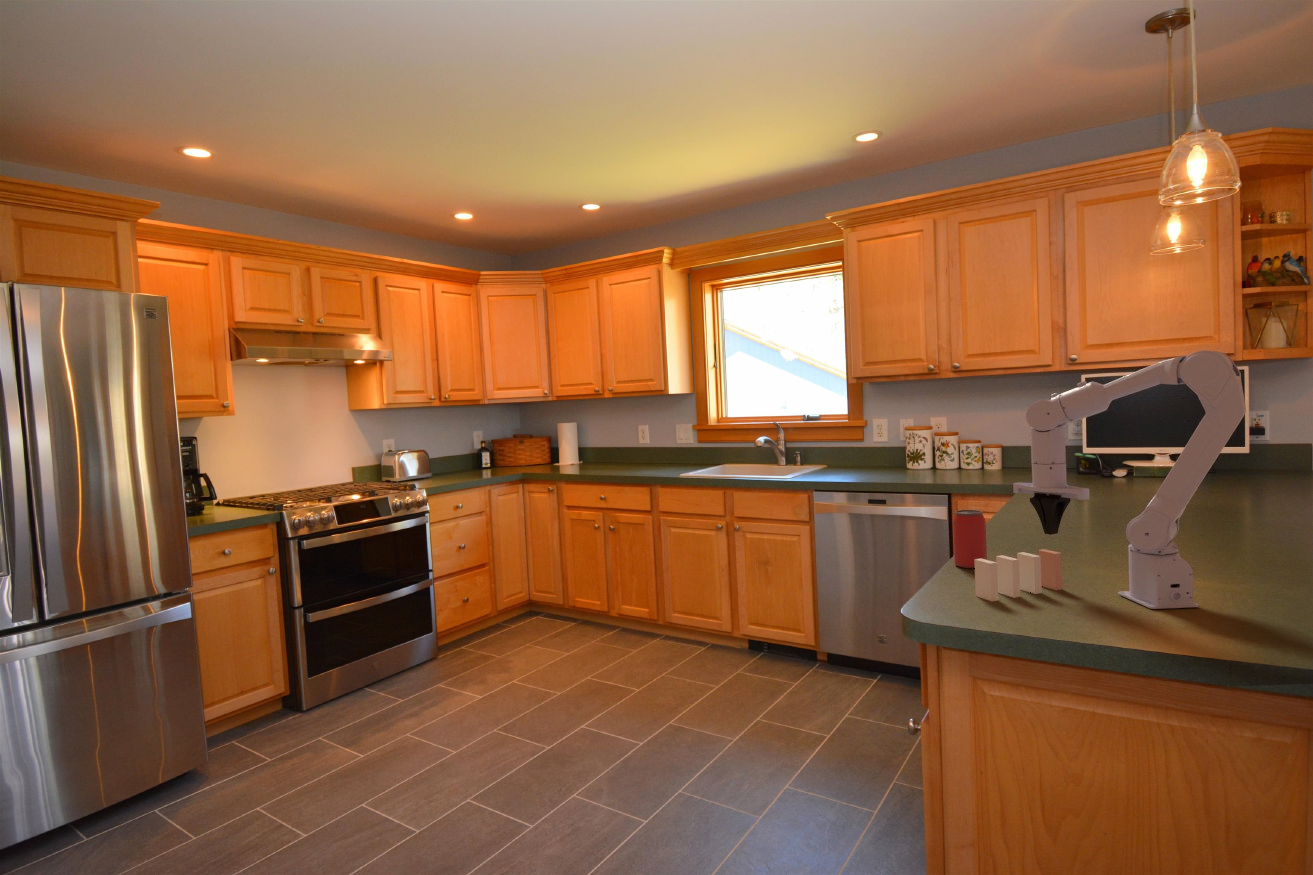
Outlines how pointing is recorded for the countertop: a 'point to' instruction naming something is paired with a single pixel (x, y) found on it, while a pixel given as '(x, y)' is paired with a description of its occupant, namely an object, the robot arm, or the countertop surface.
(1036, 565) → the ivory domino
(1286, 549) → the countertop surface
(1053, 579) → the rust domino
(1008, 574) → the ivory domino
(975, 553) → the beer can
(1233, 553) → the countertop surface
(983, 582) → the ivory domino
